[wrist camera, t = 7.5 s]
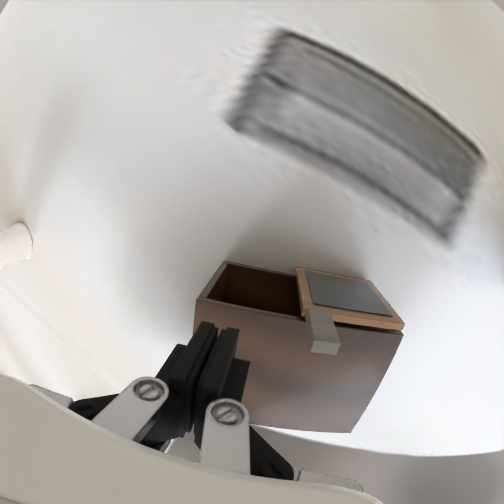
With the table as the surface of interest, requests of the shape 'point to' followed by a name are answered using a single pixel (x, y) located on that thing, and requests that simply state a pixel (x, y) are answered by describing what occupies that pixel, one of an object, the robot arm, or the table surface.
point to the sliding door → (340, 307)
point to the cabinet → (294, 352)
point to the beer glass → (15, 245)
